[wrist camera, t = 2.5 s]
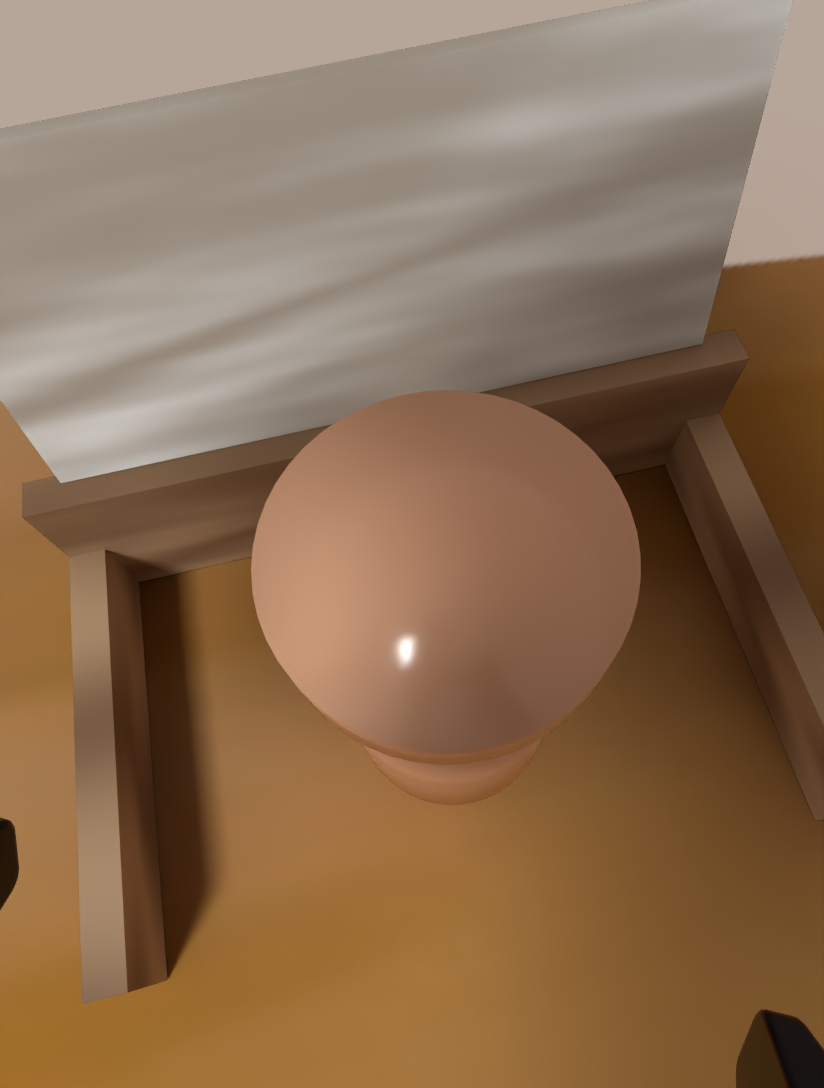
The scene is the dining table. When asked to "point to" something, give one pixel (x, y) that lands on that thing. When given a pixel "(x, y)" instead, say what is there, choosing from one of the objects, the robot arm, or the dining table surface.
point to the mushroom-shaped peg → (446, 584)
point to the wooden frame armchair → (376, 332)
